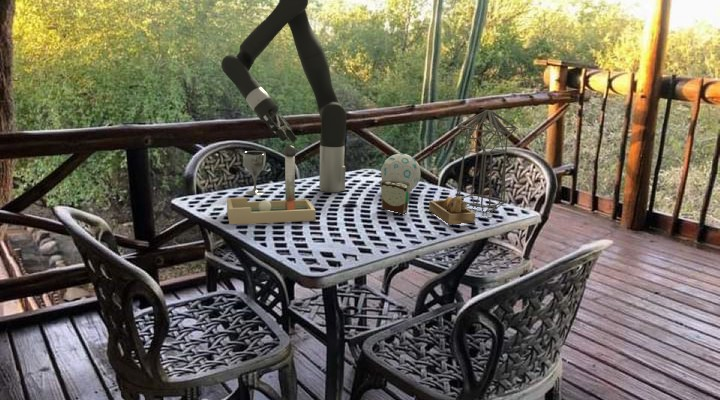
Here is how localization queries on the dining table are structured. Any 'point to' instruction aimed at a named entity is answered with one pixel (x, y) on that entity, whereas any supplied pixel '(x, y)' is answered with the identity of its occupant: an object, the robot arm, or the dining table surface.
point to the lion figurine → (454, 205)
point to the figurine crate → (449, 218)
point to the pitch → (267, 212)
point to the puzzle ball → (401, 169)
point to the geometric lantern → (491, 119)
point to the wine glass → (254, 167)
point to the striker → (290, 177)
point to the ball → (264, 205)
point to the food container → (395, 195)
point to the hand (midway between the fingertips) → (290, 140)
